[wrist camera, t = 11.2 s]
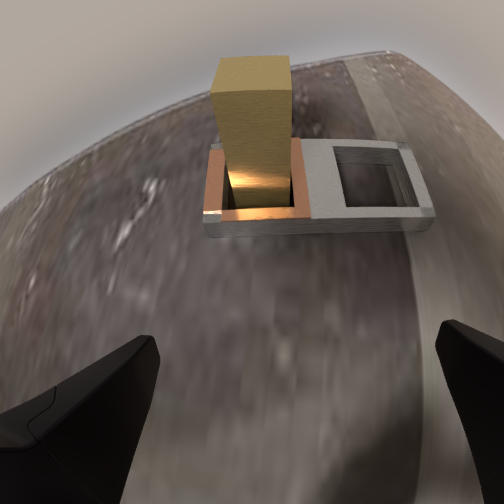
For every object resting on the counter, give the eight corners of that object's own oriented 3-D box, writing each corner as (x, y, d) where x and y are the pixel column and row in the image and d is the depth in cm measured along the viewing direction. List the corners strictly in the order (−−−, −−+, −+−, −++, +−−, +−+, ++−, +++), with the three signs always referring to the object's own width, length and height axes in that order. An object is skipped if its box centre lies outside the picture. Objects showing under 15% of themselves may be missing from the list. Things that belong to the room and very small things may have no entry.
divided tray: (401, 158, 28) (408, 141, 25) (425, 230, 24) (437, 216, 21) (215, 160, 29) (211, 142, 27) (209, 238, 25) (202, 222, 23)
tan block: (288, 175, 28) (288, 55, 16) (288, 214, 26) (291, 89, 14) (241, 175, 28) (220, 58, 16) (238, 214, 26) (209, 92, 14)
